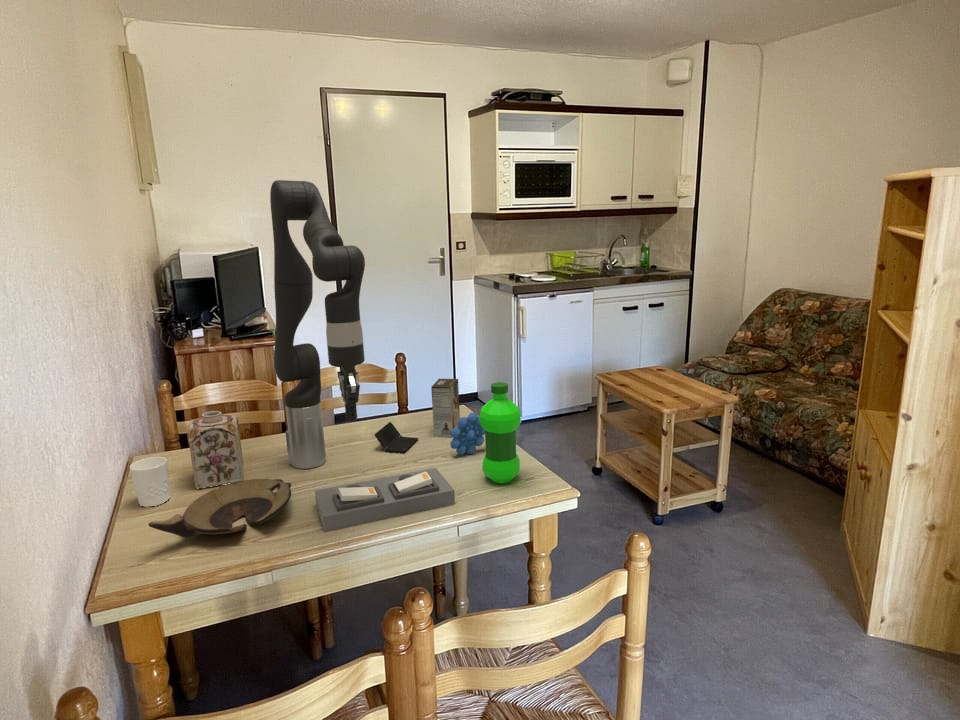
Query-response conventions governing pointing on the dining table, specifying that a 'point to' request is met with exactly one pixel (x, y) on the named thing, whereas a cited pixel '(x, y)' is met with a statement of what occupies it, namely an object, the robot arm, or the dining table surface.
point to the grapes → (467, 434)
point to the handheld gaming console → (394, 440)
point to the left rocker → (357, 493)
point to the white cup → (151, 480)
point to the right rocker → (413, 482)
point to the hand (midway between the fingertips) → (351, 418)
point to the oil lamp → (229, 508)
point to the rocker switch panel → (382, 500)
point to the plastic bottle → (500, 435)
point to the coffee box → (445, 406)
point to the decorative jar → (215, 449)
